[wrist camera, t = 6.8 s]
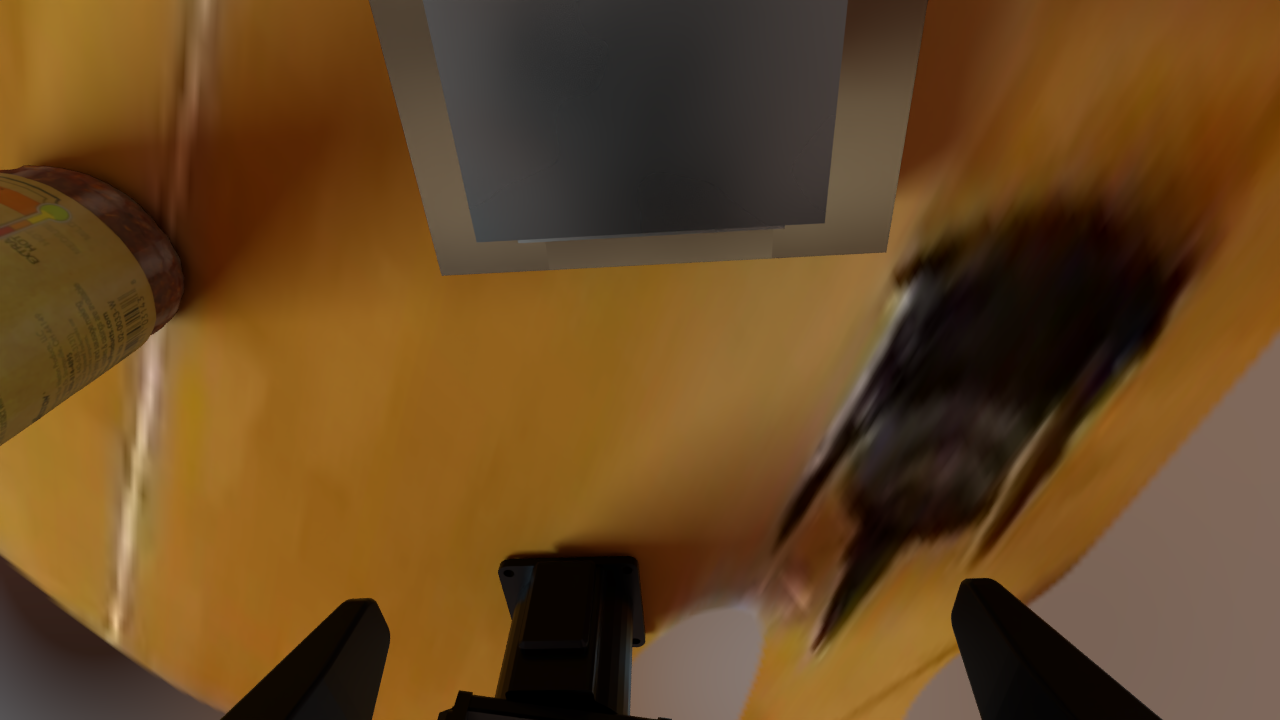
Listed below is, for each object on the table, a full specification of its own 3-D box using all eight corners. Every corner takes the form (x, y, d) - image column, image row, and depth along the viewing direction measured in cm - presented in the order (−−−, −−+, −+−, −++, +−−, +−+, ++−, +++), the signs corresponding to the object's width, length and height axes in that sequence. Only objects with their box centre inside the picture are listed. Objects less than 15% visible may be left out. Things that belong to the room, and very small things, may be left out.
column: (739, 117, 14) (822, 248, 7) (566, 128, 14) (482, 267, 7) (745, -144, 11) (882, -334, 4) (534, -125, 11) (360, -281, 5)
